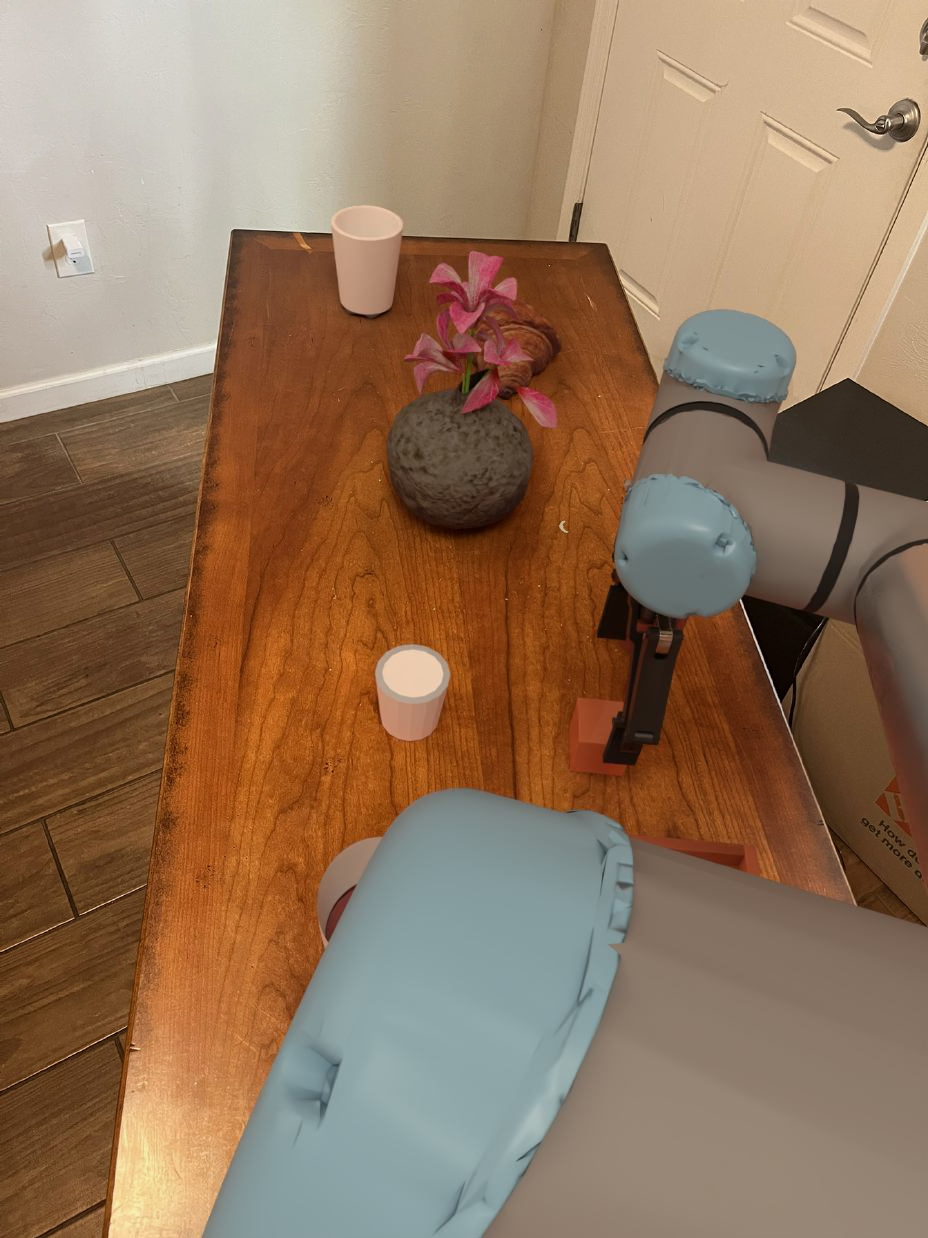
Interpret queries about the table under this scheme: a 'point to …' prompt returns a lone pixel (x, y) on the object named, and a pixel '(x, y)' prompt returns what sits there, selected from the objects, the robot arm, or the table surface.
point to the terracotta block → (592, 736)
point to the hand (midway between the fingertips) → (614, 695)
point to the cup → (366, 257)
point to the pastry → (532, 338)
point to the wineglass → (341, 883)
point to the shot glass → (411, 690)
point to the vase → (465, 412)
